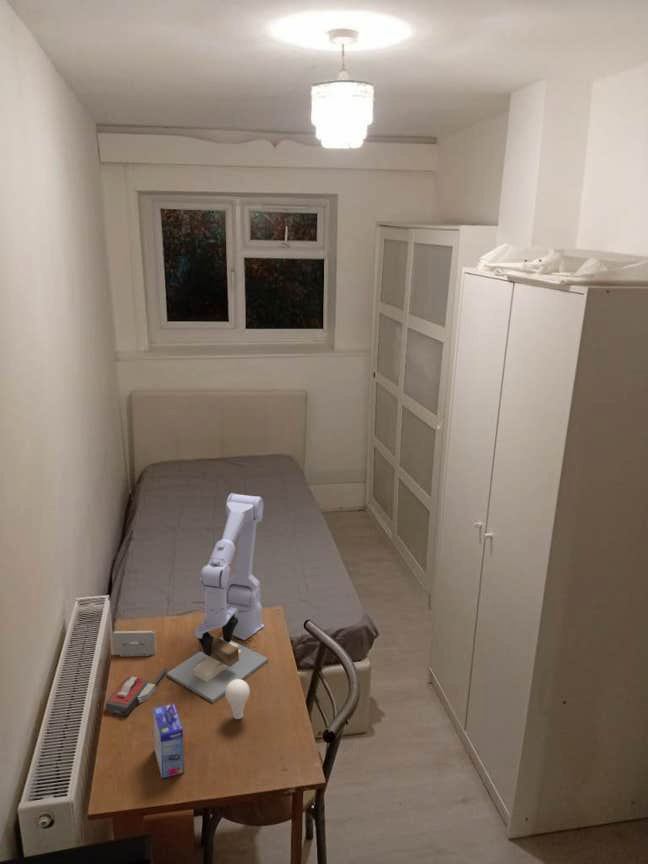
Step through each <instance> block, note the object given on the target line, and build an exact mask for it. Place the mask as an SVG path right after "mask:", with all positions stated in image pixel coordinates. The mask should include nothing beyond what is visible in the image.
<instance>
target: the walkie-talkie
mask: <svg viewBox="0 0 648 864" xmlns="http://www.w3.org/2000/svg"><path fill="white" fill-rule="evenodd" d="M167 671H168V668H167V667H164V668H163V669H162V670H161V672H160V673H159V674H158V675H157V677H156V678H155V679H154V680H153V682H151V683H149V681H148V680H147V679H145V678H140V677H137V676H132V675H131V676H127V677H126V678H125V679H124V680H123V681H122V682H121V684H120V685H119V686H118V687H117V689H116V690H115V691H114V692H113V694H112V695H111V696H110V697H109V698H108V699H107V700H106V702H105V708H106V709H105V710H107V711H106V712H107V713H110V714H113V713H116V714H115V715H118V714H120V715H119V716H121V717H122V718H125V717H127V716H129V715H128V714H130V713H131V712H132V710H133V709H134V708H135V707H136V706H137V704H142V703H144V702H147V701H148V700H149V699H150V698H151V696H152V695H153V694H154V693H155V692H156V691H157V688H156V687H157V684H158V683H159V682H160V680H161V679H162V678H163V676H164V675H165V674H166V672H167Z"/></svg>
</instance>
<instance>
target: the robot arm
mask: <svg viewBox="0 0 648 864" xmlns="http://www.w3.org/2000/svg"><path fill="white" fill-rule="evenodd" d="M225 511H226V515H227V520H226V522H225V523H226V524H225V527H224V530H223V535H222V538H221V539H220V540H218V541H217V542H216V543H215V545H214V547H213V550H212V554H211V556H210V558H209V561H208V564H206V565H204V566H203V567H202V569H201V572H200V579H199V581H200V585H201V586H202V587H201V588H202V591H203V592H204V603H205V604H204V606H205V607H204V608H205V615H204V617H203V618H204V620H203V621H202V622H201V624H199V626H198V627H197V628H196V629H195V630H194V637H196V638H197V640H198V643H199V642H200V643H201V646H202V648H203V651H204V654H205V655H207V656H211V654H212V642H213V639H214V637H213V636H214V635H213V636H211V635H212V634H211V633H210V632H212V631H214V630H217V629H220V628H221V629H222V636H223V639H224V641H226V642H228V643H230V642H231V640H232V637H233V636H234V637H236V638H238V639H241V640H242V641H246V640H248V638H250V637H252V636H253V635H255V634H256V633H257V632H259V631H261V630H262V629H264V627H265V625H264V623H263V606H262V604H261V602H260V600H261V583H260V580H258V579H257V578H256V577H255V576H254V575H253V564H254V556H255V555H254V554H255V546H256V544H255V543H256V542H255V541H256V535H257V534H256V531H257V524H258V523H260V522H262V520H263V517H264V516H263V514H264V501H263V498H262V497H261V496H255V495H254V496H253V495H247V494H246V495H245V494H239V493H238V494H237V493H234V492H233V493H232V492H231V493H230V494H229V495H228V497H227V499H226V503H225ZM238 536H239V537H238ZM237 537H238V546H237V547H238V548H237V559H236V567H235V568H236V569H235V574H234V575H232V576H231V577H230V573H231V567H230V566H231V563H232V561H233V558H234V555H235V552H236V546H235V542H236V540H237ZM227 604H228V605H229V606H227ZM227 607H229V608H227ZM210 634H211V635H210Z"/></svg>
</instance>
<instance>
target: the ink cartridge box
mask: <svg viewBox="0 0 648 864" xmlns="http://www.w3.org/2000/svg"><path fill="white" fill-rule="evenodd" d="M152 711H153V715H152V716H153V741H154V753H155V757H156V760H157V765H158V770H159V773H160V777H161V779H164V778H168V777H173V776H178V775H181V774H185V759H184V758H185V756H184V755H185V754H184V729H183V725H182V723H181V719H180V716H179V712H178V710H177V707H176V703H169V704H165V705H160V706H157V707H153V709H152Z"/></svg>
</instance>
